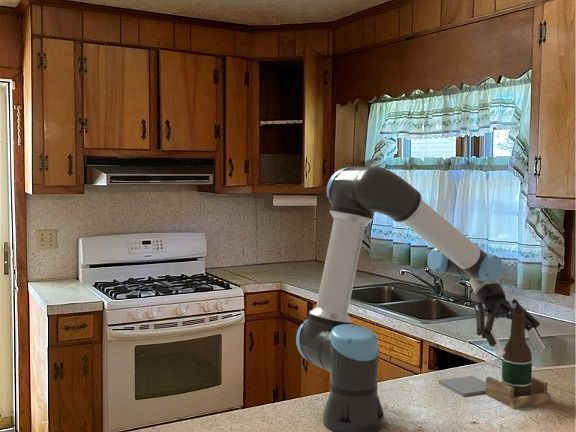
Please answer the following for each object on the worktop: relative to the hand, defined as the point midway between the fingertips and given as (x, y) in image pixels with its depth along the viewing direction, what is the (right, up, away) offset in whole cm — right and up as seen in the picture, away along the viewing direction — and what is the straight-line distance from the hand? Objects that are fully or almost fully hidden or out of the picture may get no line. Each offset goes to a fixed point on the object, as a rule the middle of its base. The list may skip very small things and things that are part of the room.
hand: (522, 353), depth 172 cm
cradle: (-1, -13, +2) cm, 13 cm away
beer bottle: (-1, -13, +2) cm, 13 cm away
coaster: (-12, -12, +11) cm, 20 cm away
